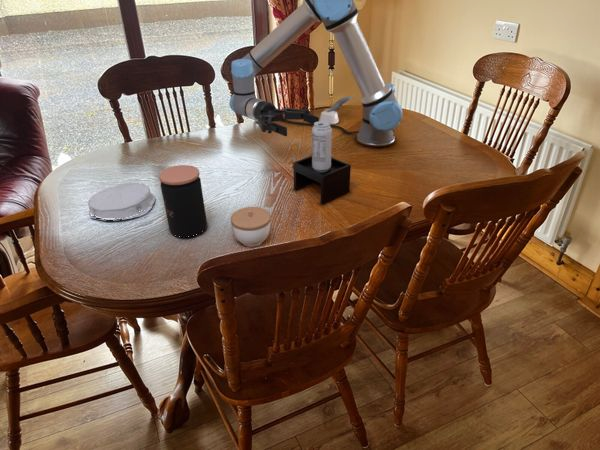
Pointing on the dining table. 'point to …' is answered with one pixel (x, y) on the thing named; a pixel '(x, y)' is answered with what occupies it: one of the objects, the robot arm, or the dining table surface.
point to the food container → (121, 201)
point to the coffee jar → (183, 201)
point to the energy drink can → (321, 146)
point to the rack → (323, 178)
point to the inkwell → (333, 111)
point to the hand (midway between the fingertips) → (302, 126)
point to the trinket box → (251, 225)
